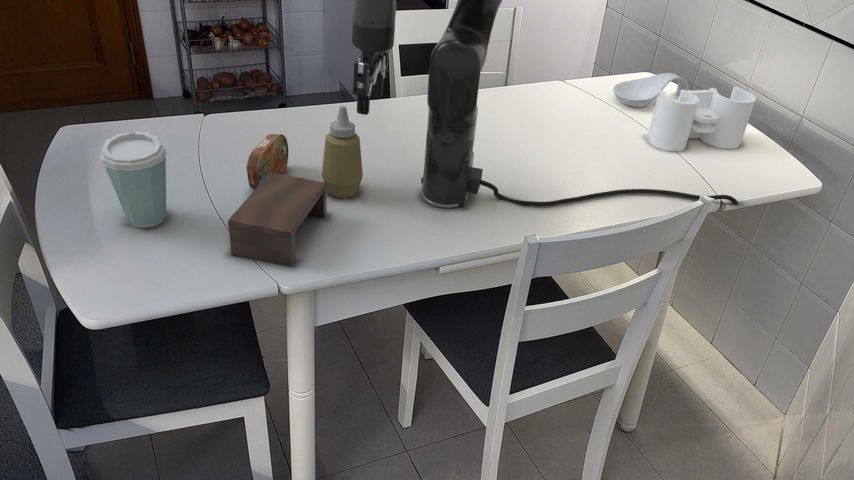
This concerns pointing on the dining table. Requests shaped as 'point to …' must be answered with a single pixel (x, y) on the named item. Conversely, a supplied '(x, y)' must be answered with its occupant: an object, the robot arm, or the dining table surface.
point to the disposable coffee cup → (137, 176)
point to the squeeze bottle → (342, 157)
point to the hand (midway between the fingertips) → (369, 105)
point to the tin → (267, 159)
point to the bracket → (700, 119)
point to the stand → (275, 217)
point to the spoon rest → (646, 89)
